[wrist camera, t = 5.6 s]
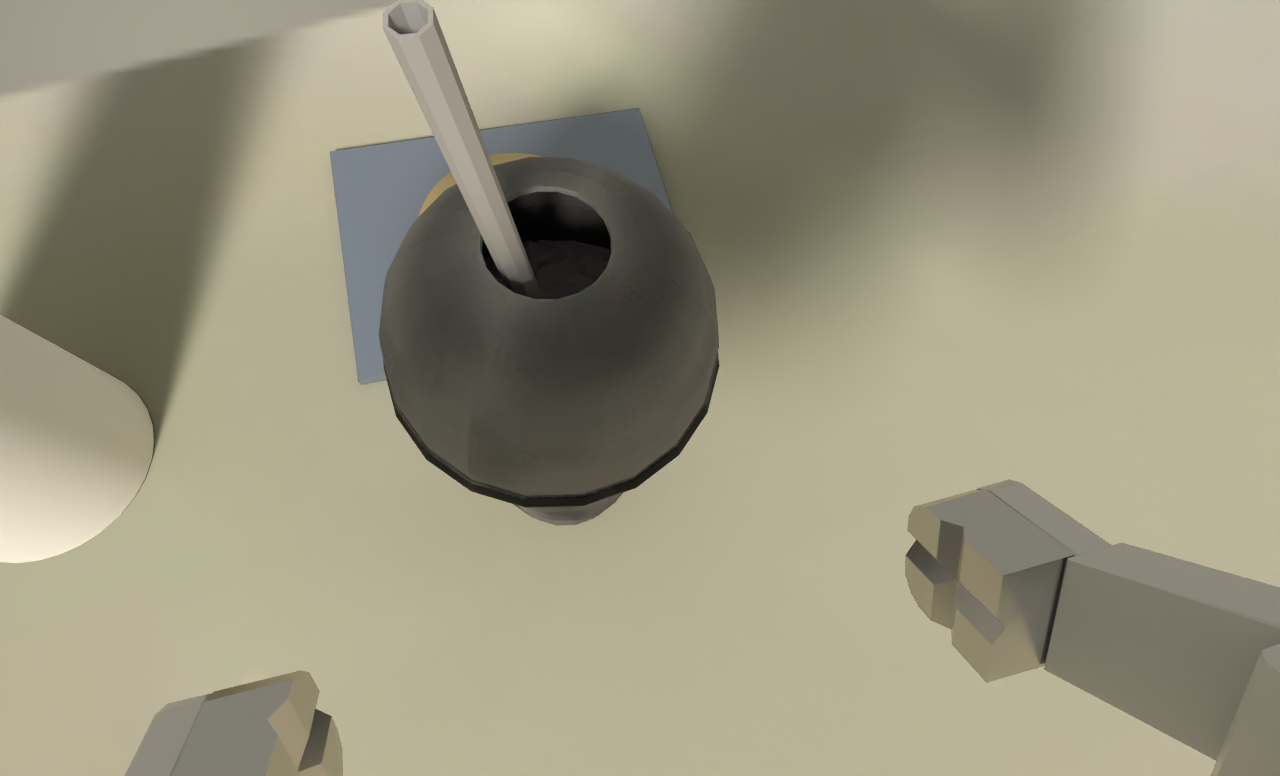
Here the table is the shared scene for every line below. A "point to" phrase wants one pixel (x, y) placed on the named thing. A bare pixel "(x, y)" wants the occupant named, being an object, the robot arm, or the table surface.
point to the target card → (418, 174)
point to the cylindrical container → (63, 447)
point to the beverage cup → (540, 314)
